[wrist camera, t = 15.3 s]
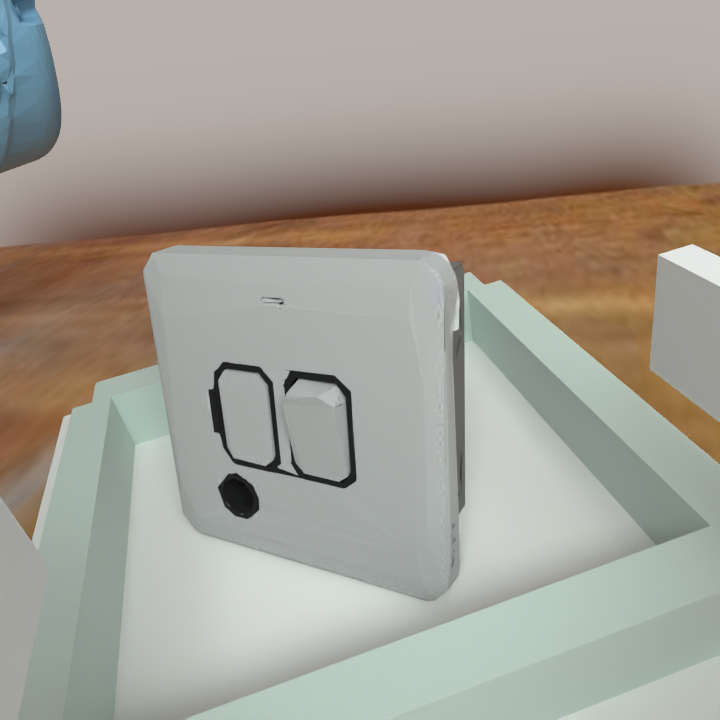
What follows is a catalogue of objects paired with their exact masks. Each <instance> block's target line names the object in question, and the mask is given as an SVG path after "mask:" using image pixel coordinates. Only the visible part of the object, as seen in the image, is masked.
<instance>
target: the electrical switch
mask: <svg viewBox="0 0 720 720" xmlns="http://www.w3.org/2000/svg"><path fill="white" fill-rule="evenodd" d="M461 267H462V262H449V261H448V259H447V257H446V255H445V254H441V253H436V252H431V251H426V250H388V249H335V248H283V247H231V246H179V245H178V246H172V247H169V248H166V249H163V250H160V251H156V252H153V253H152V254H151V256H150V258H149V260H148V262H147V264H146V266H145V268H144V270H143V275H144V281H145V287H146V293H147V299H148V305H149V311H150V317H151V323H152V329H153V335H154V341H155V347H156V353H157V359H158V366H159V372H160V378H161V384H162V390H163V396H164V402H165V408H166V414H167V420H168V426H169V432H170V438H171V444H172V450H173V456H174V462H175V468H176V474H177V480H178V486H179V492H180V498H181V504H182V510H183V514H184V515H185V517H186V518H187V519H188V521H189V522H190V523H191V525H192V526H193V527H194V528H195V529H196V530H197V531H198V532H200V533H201V534H205V535H208V536H211V537H215V538H218V539H221V540H225V541H228V542H231V543H235V544H238V545H241V546H245V547H248V548H251V549H255V550H258V551H262V552H265V553H268V554H272V555H275V556H278V557H282V558H285V559H288V560H292V561H295V562H298V563H302V564H305V565H308V566H312V567H315V568H319V569H322V570H325V571H329V572H332V573H335V574H339V575H342V576H345V577H349V578H352V579H355V580H359V581H362V582H365V583H369V584H372V585H375V586H379V587H382V588H386V589H389V590H392V591H396V592H399V593H402V594H406V595H409V596H412V597H416V598H419V599H422V600H426V601H434V600H436V599H437V598H438V597H440V596H441V595H442V594H443V593H445V592H446V591H447V590H448V589H449V588H450V586H451V585H452V584H453V582H454V581H455V579H456V578H457V576H458V574H459V571H460V565H461V558H462V555H461V540H460V534H459V514H460V512H461V510H462V509H463V507H464V506H465V343H464V267H463V268H461ZM458 268H460V269H458ZM456 269H457V270H456ZM454 270H455V271H454Z"/></svg>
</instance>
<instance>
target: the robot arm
mask: <svg viewBox="0 0 720 720" xmlns="http://www.w3.org/2000/svg"><path fill="white" fill-rule="evenodd" d="M60 128H61V102H60V95H59V88H58V81H57V77H56V72H55V67H54V62H53V57H52V53H51V49H50V45H49V41H48V38H47V34H46V31H45V27H44V24H43V22H42V20H41V18H40V16H39V14H38V12H37V11H36V9H35V0H0V173H2V172H5V171H7V170H11V169H13V168H16V167H19V166H22V165H25V164H27V163H30V162H33V161H35V160H38V159H40V158H41V157H43V156H45V155H46V154H47V153H48V152H49V151H50V150H51V149H52V148H53V146H54V145H55V143H56V141H57V139H58V136H59V133H60ZM650 370H651V371H653V372H654V373H655V374H657V375H658V376H659V377H661V378H662V379H663V380H665V381H666V382H667V383H668V384H670V385H671V386H672V387H674V388H675V389H676V390H678V391H679V392H680V393H682V394H683V395H684V396H686V397H687V398H688V399H689V400H691V401H692V402H693V403H695V404H696V405H697V406H699V407H700V408H701V409H703V410H704V411H705V412H707V413H708V414H709V415H710V416H712V417H713V418H714V419H716V420H717V421H718V422H720V257H719V256H717V255H715V254H712V253H710V252H708V251H706V250H704V249H702V248H699V247H697V246H695V245H693V244H692V245H688V246H685V247H682V248H679V249H675V250H672V251H669V252H665V253H662V254H659V255H658V264H657V277H656V290H655V304H654V317H653V330H652V344H651V357H650ZM49 568H50V567H49V566H48V564H47V563H46V562H45V560H44V559H43V557H42V556H41V554H40V553H39V552H38V550H37V549H36V547H35V546H34V544H33V543H32V541H31V540H30V539H29V537H28V536H27V534H26V533H25V531H24V530H23V529H22V527H21V526H20V524H19V523H18V521H17V520H16V518H15V517H14V516H13V514H12V513H11V511H10V510H9V508H8V507H7V506H6V504H5V503H4V501H3V500H2V498H1V497H0V720H17V719H18V715H19V710H20V705H21V701H22V696H23V691H24V686H25V682H26V677H27V672H28V667H29V663H30V658H31V653H32V649H33V644H34V639H35V634H36V630H37V625H38V620H39V615H40V611H41V606H42V601H43V597H44V592H45V587H46V582H47V578H48V573H49Z"/></svg>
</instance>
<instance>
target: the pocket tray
mask: <svg viewBox="0 0 720 720" xmlns="http://www.w3.org/2000/svg"><path fill="white" fill-rule="evenodd" d="M464 343H465V506H464V507H463V509H462V510H461V512H460V514H459V534H460V540H461V555H462V558H461V565H460V571H459V574H458V576H457V578H456V579H455V581H454V582H453V584H452V585H451V586H450V588H449V589H448V590H447V591H446V592H445V593H443V594H442V595H441V596H440V597H438V598H437V599H436V600H434V601H426V600H422V599H419V598H416V597H412V596H409V595H406V594H402V593H399V592H396V591H392V590H389V589H386V588H382V587H379V586H375V585H372V584H369V583H365V582H362V581H359V580H355V579H352V578H349V577H345V576H342V575H339V574H335V573H332V572H329V571H325V570H322V569H319V568H315V567H312V566H308V565H305V564H302V563H298V562H295V561H292V560H288V559H285V558H282V557H278V556H275V555H272V554H268V553H265V552H262V551H258V550H255V549H251V548H248V547H245V546H241V545H238V544H235V543H231V542H228V541H225V540H221V539H218V538H215V537H211V536H208V535H205V534H201V533H200V532H198V531H197V530H196V529H195V528H194V527H193V526H192V525H191V523H190V522H189V521H188V519H187V518H186V517H185V515H184V514H183V510H182V504H181V498H180V492H179V486H178V480H177V474H176V468H175V462H174V456H173V450H172V444H171V438H170V432H169V426H168V420H167V414H166V408H165V402H164V396H163V390H162V384H161V378H160V372H159V366H158V364H157V365H154V366H151V367H147V368H144V369H140V370H137V371H134V372H130V373H127V374H124V375H120V376H117V377H113V378H110V379H107V380H103V381H100V382H97V383H96V384H95V389H94V394H93V399H92V403H89V404H85V405H82V406H79V407H75V408H72V412H71V414H70V415H67V416H64V417H63V421H62V425H61V429H60V433H59V437H58V441H57V444H56V448H55V452H54V456H53V460H52V464H51V468H50V472H49V476H48V479H47V483H46V487H45V491H44V495H43V499H42V503H41V507H40V511H39V514H38V518H37V522H36V526H35V530H34V534H33V538H32V543H33V544H34V546H35V547H36V549H37V550H38V552H39V553H40V554H41V556H42V557H43V559H44V560H45V562H46V563H47V564H48V566H49V567H50V568H49V573H48V578H47V582H46V587H45V592H44V597H43V601H42V606H41V611H40V615H39V620H38V625H37V630H36V634H35V639H34V644H33V649H32V653H31V658H30V663H29V667H28V672H27V677H26V682H25V686H24V691H23V696H22V701H21V705H20V710H19V715H18V719H17V720H720V464H718V463H717V462H716V461H715V460H714V459H712V458H711V457H710V456H709V455H708V454H707V453H705V452H704V451H703V450H702V449H701V448H699V447H698V446H697V445H696V444H695V443H693V442H692V441H691V440H690V439H689V438H688V437H686V436H685V435H684V434H683V433H682V432H680V431H679V430H678V429H677V428H676V427H675V426H673V425H672V424H671V423H670V422H669V421H667V420H666V419H665V418H664V417H663V416H661V415H660V414H659V413H658V412H657V411H656V410H654V409H653V408H652V407H651V406H650V405H648V404H647V403H646V402H645V401H644V400H642V399H641V398H640V397H639V396H638V395H637V394H635V393H634V392H633V391H632V390H631V389H629V388H628V387H627V386H626V385H625V384H624V383H622V382H621V381H620V380H619V379H618V378H616V377H615V376H614V375H613V374H612V373H610V372H609V371H608V370H607V369H606V368H605V367H603V366H602V365H601V364H600V363H599V362H597V361H596V360H595V359H594V358H593V357H592V356H590V355H589V354H588V353H587V352H586V351H584V350H583V349H582V348H581V347H580V346H578V345H577V344H576V343H575V342H574V341H573V340H571V339H570V338H569V337H568V336H567V335H565V334H564V333H563V332H562V331H561V330H559V329H558V328H557V327H556V326H555V325H554V324H552V323H551V322H550V321H549V320H548V319H546V318H545V317H544V316H543V315H542V314H541V313H539V312H538V311H537V310H536V309H535V308H533V307H532V306H531V305H530V304H529V303H527V302H526V301H525V300H524V299H523V298H522V297H520V296H519V295H518V294H517V293H516V292H514V291H513V290H512V289H511V288H510V287H508V286H507V285H506V284H505V283H504V282H502V281H501V280H500V281H496V282H493V283H490V284H486V285H484V284H483V283H482V282H480V281H479V280H478V279H477V278H476V277H475V276H474V275H473V274H472V273H470V272H469V273H465V274H464Z"/></svg>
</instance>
